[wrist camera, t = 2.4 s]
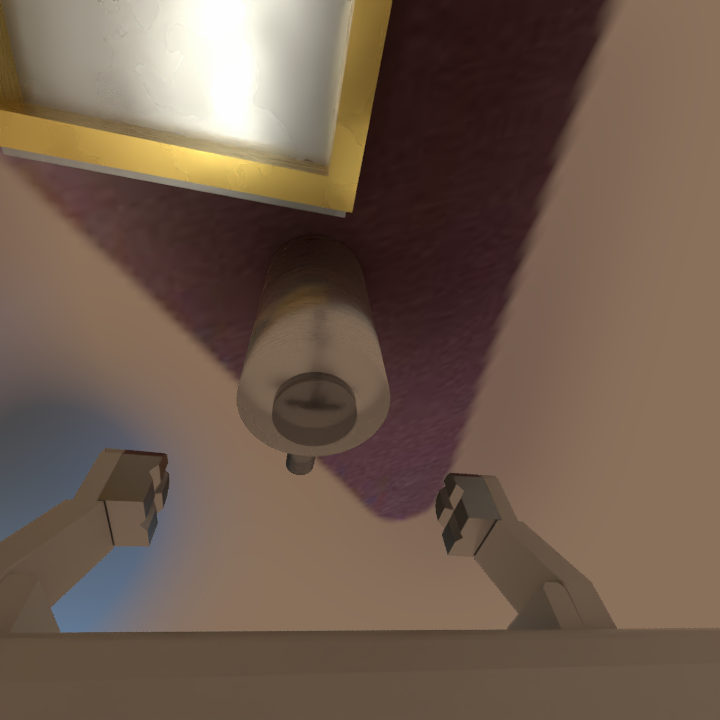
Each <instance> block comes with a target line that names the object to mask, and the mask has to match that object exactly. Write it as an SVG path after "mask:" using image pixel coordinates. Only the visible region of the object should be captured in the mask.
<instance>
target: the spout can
mask: <svg viewBox="0 0 720 720" xmlns="http://www.w3.org/2000/svg"><path fill="white" fill-rule="evenodd" d="M389 406H390V389H389V385H388V381H387V376H386V372H385V367H384V363H383V359H382V354H381V350H380V346H379V341H378V337H377V333H376V328H375V324H374V320H373V315H372V311H371V307H370V302H369V298H368V294H367V289H366V285H365V280H364V276H363V272H362V268H361V265H360V263H359V261H358V259H357V257H356V256H355V255H354V253H353V252H352V251H351V250H350V249H349V248H348V247H347V246H345V245H344V244H343V243H341V242H339V241H337V240H336V239H333V238H330V237H327V236H322V235H307V236H302V237H298V238H295V239H293V240H291V241H289V242H288V243H286V244H284V245H283V246H282V247H281V248H280V249H279V250H278V251H277V252H276V253H275V255H274V256H273V258H272V260H271V262H270V265H269V268H268V272H267V275H266V279H265V283H264V287H263V291H262V295H261V299H260V303H259V307H258V311H257V315H256V319H255V323H254V327H253V331H252V335H251V339H250V343H249V347H248V351H247V355H246V359H245V363H244V367H243V370H242V374H241V378H240V382H239V386H238V391H237V407H238V411H239V414H240V417H241V419H242V421H243V422H244V424H245V426H246V427H247V428H248V430H249V431H250V432H251V433H252V434H253V435H254V436H255V437H256V438H257V439H259V440H260V441H262V442H263V443H265V444H266V445H268V446H270V447H272V448H274V449H277V450H279V451H282V452H285V453H287V459H286V467H287V469H288V470H289V471H290V472H291V473H293V474H296V475H305V474H307V473H309V472H310V471H311V470H312V468H313V465H314V460H315V456H326V455H332V454H336V453H341V452H344V451H346V450H349V449H351V448H354V447H356V446H358V445H359V444H361V443H363V442H364V441H366V440H367V439H368V438H370V437H371V436H372V435H373V434H374V433H375V432H376V431H377V430H378V429H379V427H380V426H381V425H382V423H383V422H384V420H385V418H386V416H387V413H388V410H389Z"/></svg>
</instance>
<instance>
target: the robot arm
mask: <svg viewBox="0 0 720 720" xmlns="http://www.w3.org/2000/svg"><path fill="white" fill-rule="evenodd" d="M167 464H168V458H167V454H165V453H155V452H144V451H134V450H120V449H110V448H105V449H104V450H103V451H102V452H101V453H100V454H99V456H98V458H97V459H96V461H95V463H94V464H93V466H92V468H91V470H90V471H89V473H88V475H87V476H86V478H85V480H84V482H83V483H82V485H81V486H80V488H79V490H78V491H77V493H76V495H75V497H74V498H73V500H65V501H63V502H62V503H60V504H58V505H57V506H55V507H54V508H52V509H51V510H49V511H48V512H46V513H45V514H43V515H41V516H40V517H39V518H37V519H35V520H34V521H32V522H31V523H29V524H28V525H26V526H24V527H23V528H21V529H20V530H18V531H17V532H15V533H14V534H12V535H11V536H9V537H7V538H6V539H4V540H3V541H1V542H0V720H720V628H672V629H671V628H670V629H668V628H667V629H666V628H664V629H663V628H660V629H617V627H616V626H615V624H614V622H613V621H612V619H611V617H610V615H609V613H608V611H607V609H606V608H605V606H604V604H603V602H602V600H601V598H600V597H599V595H598V593H597V591H596V589H595V588H594V586H593V584H592V583H591V581H590V580H588V579H587V578H586V577H585V576H584V575H583V574H582V573H580V572H579V571H578V570H577V569H576V568H575V567H573V565H571V564H570V563H569V562H568V561H567V560H566V559H564V558H563V557H562V556H561V555H560V554H559V553H558V552H556V551H555V550H554V549H553V548H552V547H551V546H550V545H549V544H548V543H546V542H545V541H544V540H543V539H542V538H541V537H540V536H538V535H537V534H536V533H535V532H534V531H533V530H532V529H530V528H529V527H528V526H527V525H526V524H525V523H524V522H521V521H518V520H517V517H516V516H515V514H514V511H513V509H512V507H511V505H510V503H509V501H508V499H507V496H506V494H505V492H504V490H503V488H502V486H501V484H500V482H499V480H498V478H497V477H496V476H489V475H477V474H459V473H449V474H448V475H446V477H445V479H444V483H445V487H444V488H442V489H441V490H439V492H438V495H437V497H436V504H435V508H436V515H437V519H438V522H439V523H440V524H441V525H442V526H443V527H444V528H445V529H444V531H443V533H442V537H443V541H444V544H445V547H446V551H447V554H448V555H453V556H469V557H474V559H475V560H476V562H477V563H478V564H479V565H480V566H481V568H482V569H483V570H484V572H485V573H486V574H487V575H488V577H489V578H490V579H491V580H492V581H493V583H494V584H495V585H496V586H497V588H498V589H499V590H500V591H501V593H502V594H503V595H504V596H505V598H506V599H507V600H508V601H509V603H510V604H511V605H512V606H513V608H514V609H515V610H516V611H517V613H518V615H517V616H516V617H515V619H514V620H513V621H512V622H511V623H510V625H509V626H508V628H507V630H386V631H385V630H376V631H375V630H372V631H368V630H366V631H229V632H227V631H226V632H223V631H222V632H85V633H84V632H83V633H82V632H79V633H60V630H59V627H58V625H57V623H56V620H55V618H54V615H53V613H52V610H51V606H53V605H54V604H55V603H56V602H57V601H58V600H59V599H60V598H61V597H62V596H63V595H64V594H65V593H66V592H68V591H69V590H70V589H71V588H72V587H73V586H74V585H75V584H76V583H77V582H78V581H79V580H80V579H81V578H82V577H84V576H85V575H86V574H87V573H88V572H89V571H90V570H91V569H92V568H93V567H94V566H95V565H96V564H97V563H98V562H99V561H101V559H103V558H104V557H105V556H106V555H107V554H108V553H109V552H110V551H111V550H112V549H113V546H150V543H151V540H152V538H153V535H154V532H155V529H156V527H157V524H158V521H157V513H158V512H159V511H160V510H162V509H163V507H164V504H165V502H166V498H167V494H168V489H169V473H168V472H167V471H166V467H167Z"/></svg>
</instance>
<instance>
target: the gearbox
mask: <svg viewBox="0 0 720 720" xmlns="http://www.w3.org/2000/svg"><path fill="white" fill-rule="evenodd" d="M391 6H392V0H0V146H1V147H2V151H3V154H5V155H10V156H16V157H21V158H26V159H32V160H37V161H42V162H48V163H53V164H59V165H64V166H69V167H75V168H80V169H85V170H91V171H96V172H101V173H107V174H112V175H118V176H123V177H128V178H134V179H139V180H144V181H150V182H155V183H160V184H166V185H171V186H177V187H182V188H187V189H193V190H198V191H203V192H209V193H214V194H220V195H225V196H230V197H236V198H241V199H246V200H252V201H257V202H262V203H268V204H273V205H279V206H284V207H289V208H295V209H300V210H305V211H311V212H316V213H321V214H327V215H332V216H338V217H343V218H345V215H346V212H350V213H352V211H353V206H354V200H355V195H356V190H357V185H358V179H359V174H360V169H361V163H362V158H363V153H364V148H365V142H366V137H367V132H368V127H369V121H370V116H371V111H372V106H373V100H374V95H375V90H376V85H377V79H378V74H379V69H380V64H381V58H382V53H383V48H384V43H385V37H386V32H387V27H388V21H389V16H390V11H391Z"/></svg>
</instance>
